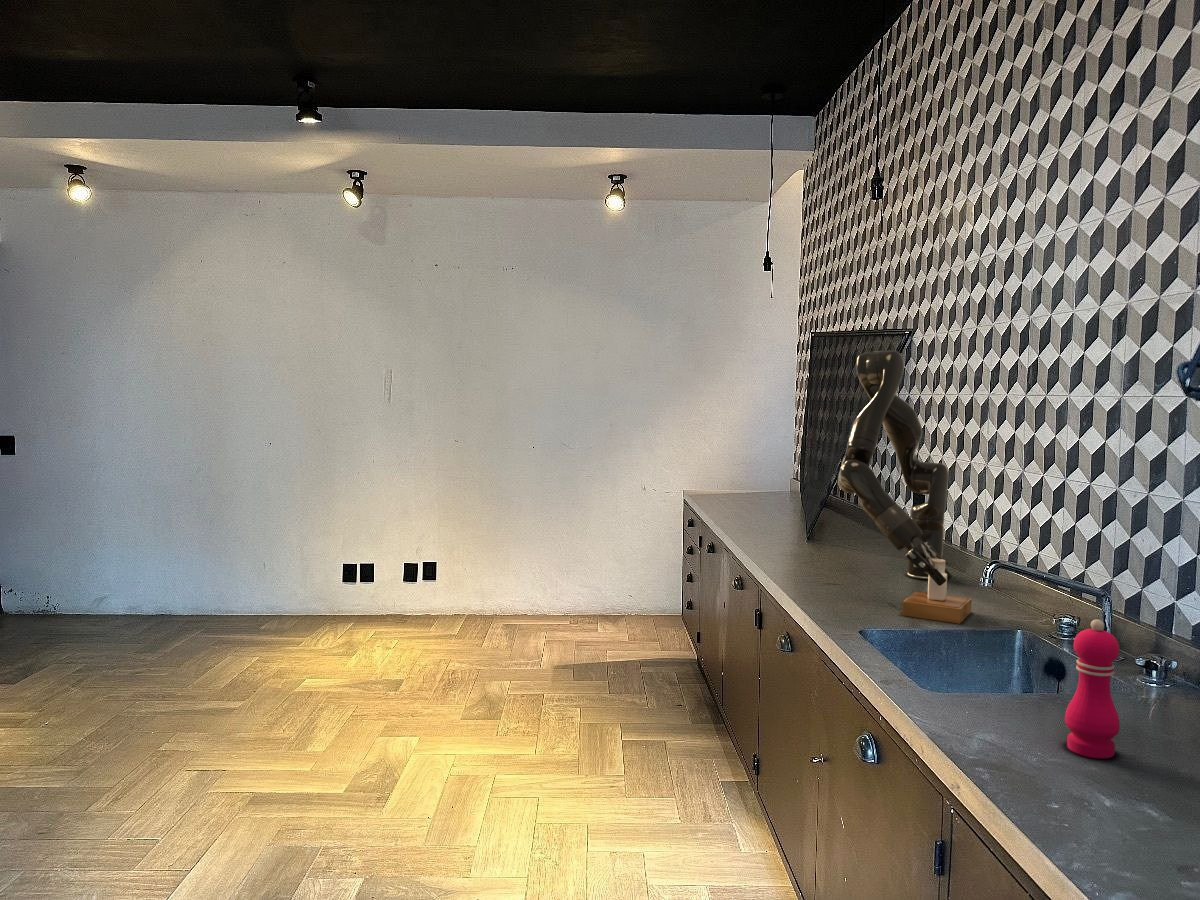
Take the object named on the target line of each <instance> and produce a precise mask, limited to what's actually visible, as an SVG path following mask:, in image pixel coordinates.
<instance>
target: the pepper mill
mask: <svg viewBox="0 0 1200 900" xmlns="http://www.w3.org/2000/svg"><path fill="white" fill-rule="evenodd" d="M1104 629H1105V623H1104V622H1103V621H1102V620H1101V619H1098V618H1096V619H1093V620H1091V622H1090V628H1087V629H1083V630H1081V631H1080V632H1078V633H1077V634H1076V636H1075V638H1074V640H1073V650H1074V653H1075V654H1076V656H1078V659H1076V666H1075V669H1076V670H1077V671H1078V683H1077V687H1076V690H1075V693H1074V695H1073V697H1072V698H1071V700H1070V702H1069V703H1068V705H1067V707H1066V710H1065V716H1064V722H1065V725H1066V727H1067V728H1068V729H1069V730H1070V733H1068V734H1067V738H1066V739H1067V740H1066V741H1067V742H1066V747H1067V748H1068V750H1069V751H1071V752H1072V753H1074V754H1077V755H1079V756H1083V757H1086V758H1090V759H1096V760H1097V759H1099V760H1100V759H1102V760H1103V759H1110V758H1113V757H1114V756H1115V753H1116V750H1115V749H1116V743H1115V741H1114V740H1113V738H1115V737H1116V736H1117V735H1118V734H1119V732H1120V729H1121V728H1120V717H1119V713H1118V710H1117V709H1116V706H1115V703H1114V700H1113V698H1112V693H1111V677H1112V676H1113V675H1115V671H1114V670H1115V667H1116V665H1115V664H1114V663H1113V662H1115V660H1117V659H1118V658H1119V655H1120V644H1119V642H1118V640H1117V637H1115V635H1113V634H1112V633H1110V632H1109V631H1106V630H1104Z"/></svg>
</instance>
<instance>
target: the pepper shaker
mask: <svg viewBox="0 0 1200 900" xmlns="http://www.w3.org/2000/svg"><path fill="white" fill-rule="evenodd" d="M931 562H932V563H933V564H934V566H935V569H936V568H937V570H938V571H939V572H940V573H941V574H942V575H943V576H944V577H945V579H946V582H945V583H943V584H942V585H941V586H939V585H938V584H937V583H936V582H935V581H934V580H933V579H932V578H931V576H930V575H929V577H928V580H927V593H928V599H930V600H938V601H944V600H945V598H946V595H947V593H948V592H947V591H948V581H947V574H946V573H945V568H946V564H947V563H946V560H945V559H943V558H942V559H932V560H931Z"/></svg>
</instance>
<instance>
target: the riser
mask: <svg viewBox="0 0 1200 900" xmlns="http://www.w3.org/2000/svg"><path fill="white" fill-rule="evenodd" d="M971 613H972V598H971V597H964V596H956V595H949V594H946V598H945V600H944V601H938V600H930V599H928V591H927V592H925V591H915V592H914V593H912V594H911V595H910V596H908V597H907V598H905V599H904V600H903V601H902V616H904V617H910V618H916V619H917V618H918V619H924V620H931V621H937V622H944V623H950V624H958V625H960V624H962V622H963V621H964V620H965V619H966V618H968V616H969V615H970V614H971Z"/></svg>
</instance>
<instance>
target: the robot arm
mask: <svg viewBox="0 0 1200 900" xmlns="http://www.w3.org/2000/svg"><path fill="white" fill-rule="evenodd" d="M855 367H856V368H855V369H856V374H857V377H858V378H857V379H858V380H859V382H860V384H861V386H862V387H863V389H864V391H865V393H866V395H867V396H868V398H869V399H870V401H869V403H868V404H867V405H866V406H865V407H864V408H863V409H862V410H861V411H860V412H859V413H858V415H857V416H856V418H855V420H853V423H852V425H851V429H850V433H849V436H848V441H847V446H846V452H845V454H844V457H843V459H842V463H841V466H840V469H839V472H838V475H837V483H838V486H839V488H840V489H841V490H842V491H843V492H844V493H847V494H851V495H852V494H856V495H857V497H858V498H859V500H860V504H861V507H862V509H863V510H864V512H865V513H866V514H867V515H868V516H869V518H871V520H872V521H873V522H874V523H875V525H876V527H878V529H879V530H880V532H881V533H882V534H883V535H884V536H885V538H886V539H887V540H888V541H889V542H890V543H891V544H892V545H893V547H894V548H895V549H896V550H897V551H902V550H904V549H905V550H906V552H907V553H906V554H905V557H906V558H907V575H906V576H908V577H909V578H913V579H918V580H926V581H928V577H929V575H930V576H931V578H932V579H933V580H934V581H935V582H936V583H937V584H938V585H939V586H941V585H942V584H943V583H945V582H946V579H945V577H944V576H943V575H942V574H941V573H940V572H939V571H938V570H937V568H936V569H935V566H934V564H933V563H932V562H931V560H932V559H943V553H944V552H943V551H944V533H945V530H944V529H945V513H946V509H947V499H948V498H947V497H948V490H949V489H948V488H949V470H948V467H947V466H946V465H945V463H944V464H943V463H941V462H940V463H939V462H930V461H929V462H928V461H927V462H926V461H921V460H920V459H919V458H918V457H917V453H916V451H917V448H918V446H919V444H920V442H921V439H922V436H923V427H922V424H921V422H920V419H919V417H918V414H917V413H916V412H917V411H916V410H915V409H914V408H913V407H912V406H911V405H910V404H909V403H908V402H906V401H905V400H904V399H903V398H901V397H900V396H899V395H897V394H896V393H897V391H898V390H899V387H900V385H901V382H902V379H903V377H904V372H905V361H904V358H903V356H902V354H901V353H900V352H899V351H898V350H874V351H873V350H872V351H871V350H870V351H865V352H863V353H861V354H859V355H858V357H857V359H856V363H855ZM882 426H883V428H884V431H885V433H886V435H887V437H888V439H889V442H890V443H891V446H892V448H893V450H894V453H895V455H896V458H897V460H898V463H899V467H900V468H901V470H900V471H901V473H902V476H903V480H904V482H905V485H906V488H907V489H908V490H909V491H910V492H912V493H914V494H920V495H928V497H927V501H926V502H924V503H922V504H917V505H914V506H912V507H911V508H910V511H909V513H908V512H906V510H904V509H903V508H902V506H900V505H899V504H898V503H897V502H896V501H895V500H894V498H892V496H891V495H890V494H889V493H888V492H887V491H886V490H885V489H884V487H883V486H882V483H881V482H880V480H879V479H878V478H877V476H876V475H875V473H874V471H873V470H872V469H871V468H870V465H871V461H872V458H873V456H874V454H875V451H876V448H877V446H878V445H877V444H878V441H879V437H880V434H881V433H880V432H881V429H882ZM945 573H946V574H947V582H949V581H950V580H951V579H952V578H953V574H951V572H950V571H949V570H948V569H947V568H946V567H945Z"/></svg>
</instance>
